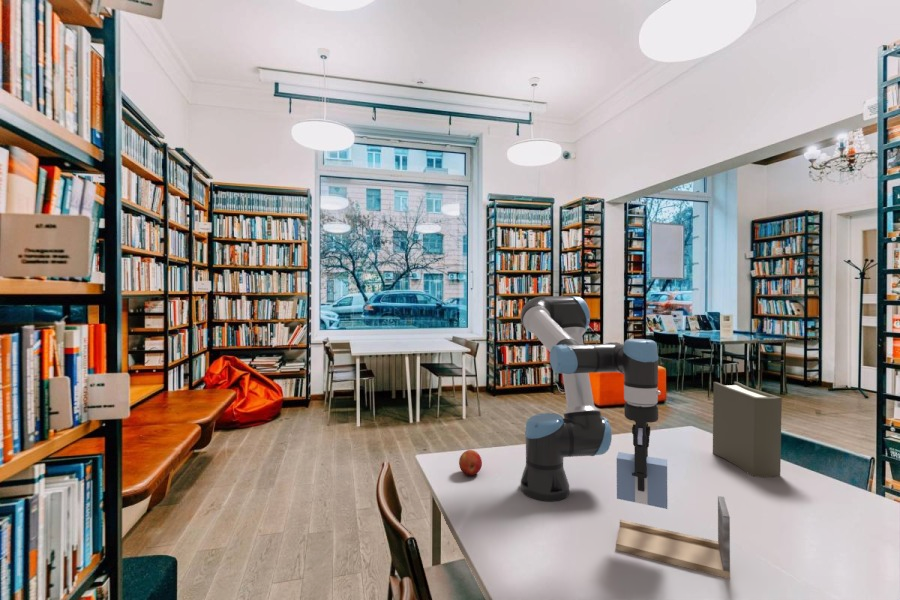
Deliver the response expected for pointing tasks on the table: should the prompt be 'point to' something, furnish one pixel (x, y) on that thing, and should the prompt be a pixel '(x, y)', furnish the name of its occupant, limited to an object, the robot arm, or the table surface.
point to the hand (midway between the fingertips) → (641, 498)
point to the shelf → (680, 545)
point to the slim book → (654, 479)
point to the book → (747, 428)
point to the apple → (470, 462)
